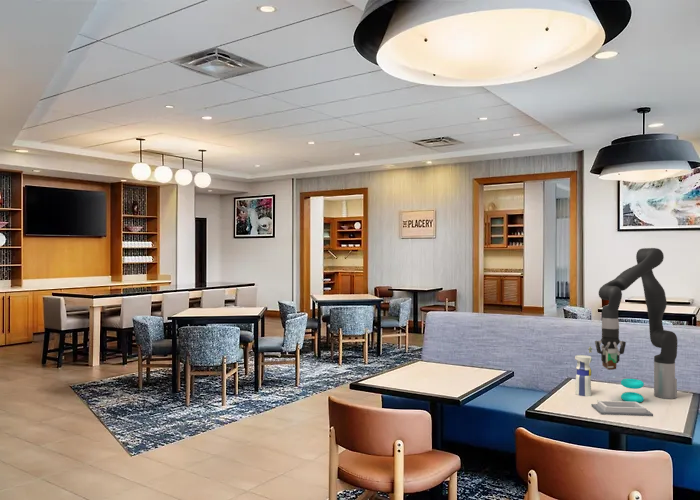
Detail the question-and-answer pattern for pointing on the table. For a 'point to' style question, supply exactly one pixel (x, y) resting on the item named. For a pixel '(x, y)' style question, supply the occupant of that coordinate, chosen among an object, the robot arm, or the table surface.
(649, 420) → the table surface
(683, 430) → the table surface
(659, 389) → the robot arm
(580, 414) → the table surface
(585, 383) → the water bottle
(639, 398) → the donuts
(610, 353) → the food container
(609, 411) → the tray
